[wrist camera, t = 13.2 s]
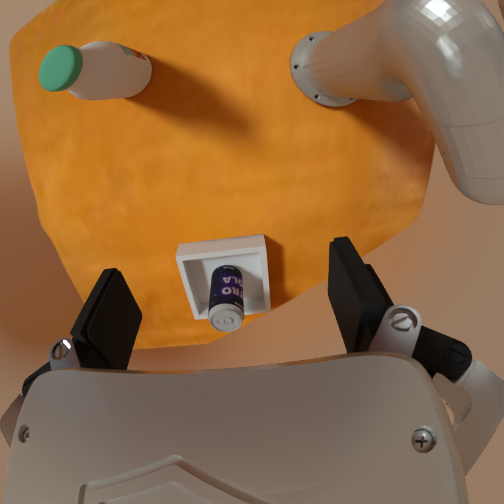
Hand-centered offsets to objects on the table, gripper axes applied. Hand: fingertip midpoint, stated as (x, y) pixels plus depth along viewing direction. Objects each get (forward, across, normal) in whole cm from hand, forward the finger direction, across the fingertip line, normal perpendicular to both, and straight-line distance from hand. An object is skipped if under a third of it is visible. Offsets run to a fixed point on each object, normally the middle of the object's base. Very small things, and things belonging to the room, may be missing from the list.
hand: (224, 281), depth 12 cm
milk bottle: (+33, +14, -14) cm, 38 cm away
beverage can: (+32, +6, +24) cm, 40 cm away
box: (+32, +6, +24) cm, 40 cm away
